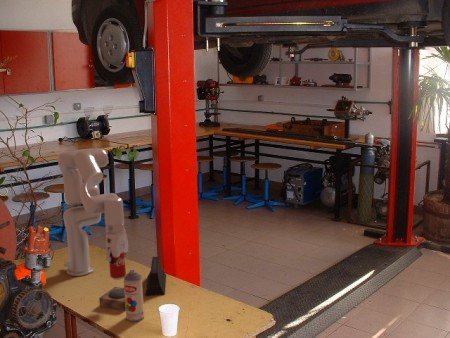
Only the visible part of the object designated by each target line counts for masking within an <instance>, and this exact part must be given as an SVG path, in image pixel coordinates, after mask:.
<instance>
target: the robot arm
mask: <svg viewBox="0 0 450 338" xmlns="http://www.w3.org/2000/svg"><path fill="white" fill-rule="evenodd" d="M57 160H58V161H57V163H58V168H59V170H60V172H61V174H62V178H63V190H64V198H65V203H66V204H67V205H69V206H75V207H70V208H68V209H66V210H65V211H64V212H63V214H62V215H63V216H62V218H63V219H62V220H63V223H64V227H65V230H66V238H67V250H68V251H67V253H68V260H65V261H64V264H63V267H67V269H66V275H68V276H72V277H81V276H82V277H83V276H86V275H90V274H91V273H93V272H94V270H95V267H94V265H92V264H91V259H90V247H89V245H90V244H89V236H88V233H87V231H85V230H84V229H83V227H86V226H91V225H96V224H99V222H101V219H102V214H103V213H104V222H105V223H104V225H105V254H106V258H105V261H107V262H108V264H109V263H110V264H115V263H116V262H115V261H114V260H113V259H111V255H113V257H115V258H118V257H119V256H120V254H121V252H124V254H125V255H126V254H127V252H128V251H129V241H128V235H127V231H126V228H125V215H124V201H123V199H122V198H121V197H119V196H118V195H117V194H116V193H114V192H110V193H103V194H100V189H99V187H98V185H99V184H101V182H102V181H103V179H104V174H103V172H102V170H101V168H104V167H106V166H107V165H108V163H109V156H108V153H107V152H106V150H105V149H103V148H100V147H99V148H95V147H94V148H82V149H74V150H67V151H63V152H61V153H60V154H59V155H58V159H57ZM77 205H78V206H77ZM79 205H81V206H79ZM115 265H116V264H115Z"/></svg>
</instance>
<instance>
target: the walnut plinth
mask: <svg viewBox="0 0 450 338" xmlns="http://www.w3.org/2000/svg"><path fill="white" fill-rule="evenodd" d="M98 300H99V301H98V302H99V308H104V309H109V310H115V311H116V310H117V311H122V312H126V305H125V291H124V287H120V286H115V287H113V288H112V289H109V291H107V292H105V293H104V294H103V295H101V296H99V297H98Z"/></svg>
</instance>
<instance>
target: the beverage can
mask: <svg viewBox="0 0 450 338" xmlns="http://www.w3.org/2000/svg"><path fill="white" fill-rule="evenodd" d="M111 259H113V260H114V261H115V262H116V263H115V264H116V265H115V264H110V263H109V262H108V264H109V273H110V274H109V275H110V278H111V279H112V280H115V281H117V280H124V277H125V276H126V275H127V272H126V269H127V268H126V254H124V252H121V254H120V256H119V257H118V258H115V257H113V255H111Z"/></svg>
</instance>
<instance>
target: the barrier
mask: <svg viewBox="0 0 450 338" xmlns="http://www.w3.org/2000/svg"><path fill="white" fill-rule="evenodd" d="M151 258H152V259H151V267H150V270H149V273H148V276H147V280H146V286H145V292H144V293H145V294H144V296H145V297H155V296H165V295H166V285H167V283H166V282H167V274H166V272H165V270H164V269H163V267H162V263H161V258H160V256H152V257H151Z"/></svg>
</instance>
